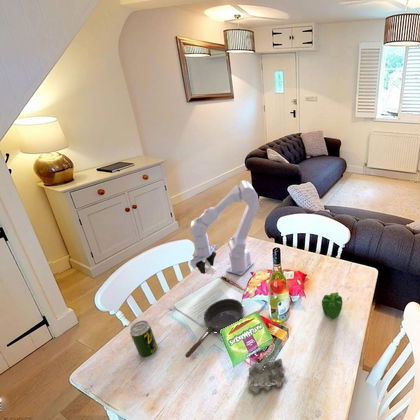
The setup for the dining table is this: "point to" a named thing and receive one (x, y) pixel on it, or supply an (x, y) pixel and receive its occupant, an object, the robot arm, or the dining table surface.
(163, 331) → the dining table surface
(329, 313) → the bell pepper
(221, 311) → the pan
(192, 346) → the pan handle
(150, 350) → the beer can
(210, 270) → the rabbit figurine
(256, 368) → the egg carton
